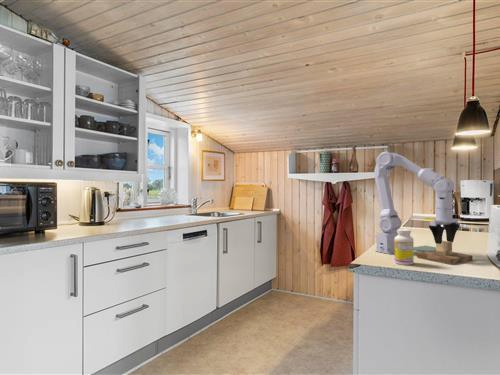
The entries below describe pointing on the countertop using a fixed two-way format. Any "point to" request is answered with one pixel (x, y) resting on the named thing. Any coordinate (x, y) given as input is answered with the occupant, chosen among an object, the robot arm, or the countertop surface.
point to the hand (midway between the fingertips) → (444, 242)
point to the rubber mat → (424, 248)
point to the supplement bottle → (404, 247)
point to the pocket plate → (445, 257)
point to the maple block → (444, 248)
